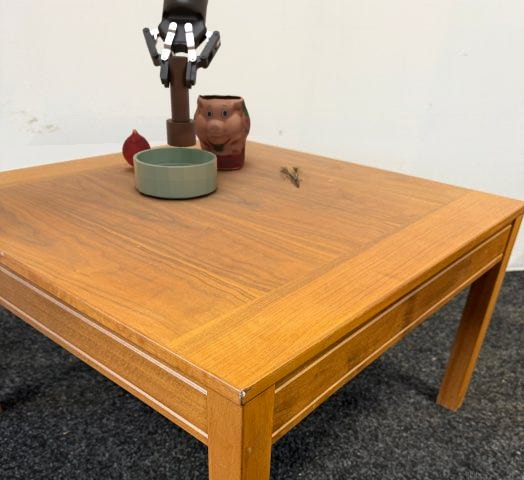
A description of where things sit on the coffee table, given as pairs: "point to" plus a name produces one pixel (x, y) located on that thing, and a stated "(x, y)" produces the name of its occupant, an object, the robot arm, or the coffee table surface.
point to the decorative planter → (223, 128)
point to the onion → (134, 146)
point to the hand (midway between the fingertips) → (177, 84)
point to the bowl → (175, 172)
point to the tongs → (291, 174)
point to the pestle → (179, 106)
